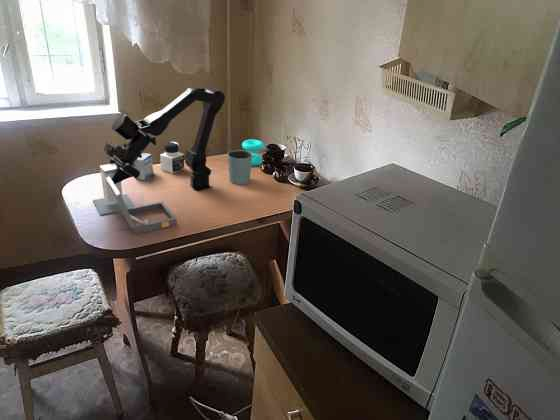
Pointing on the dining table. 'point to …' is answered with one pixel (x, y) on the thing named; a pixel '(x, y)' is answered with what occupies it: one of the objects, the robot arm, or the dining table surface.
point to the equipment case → (142, 209)
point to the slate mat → (111, 205)
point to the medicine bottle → (172, 158)
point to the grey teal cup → (239, 166)
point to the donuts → (254, 150)
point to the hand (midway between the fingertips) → (107, 182)
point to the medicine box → (144, 166)
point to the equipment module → (107, 182)
